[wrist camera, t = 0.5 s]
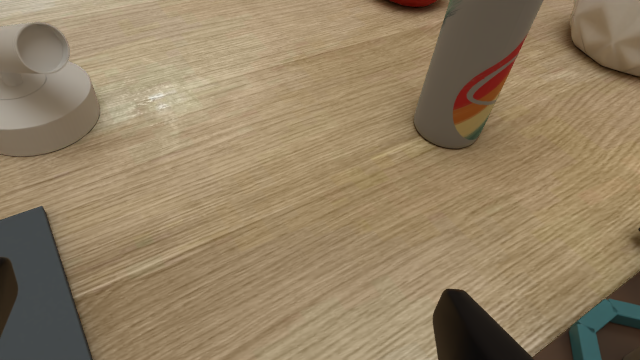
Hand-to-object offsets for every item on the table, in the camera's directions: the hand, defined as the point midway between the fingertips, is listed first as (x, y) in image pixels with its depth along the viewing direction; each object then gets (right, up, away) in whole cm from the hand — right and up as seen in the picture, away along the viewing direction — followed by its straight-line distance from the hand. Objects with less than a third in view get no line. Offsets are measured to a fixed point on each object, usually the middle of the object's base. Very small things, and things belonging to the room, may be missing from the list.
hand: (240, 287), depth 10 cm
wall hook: (-19, +7, +26) cm, 33 cm away
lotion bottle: (+12, +7, +29) cm, 33 cm away
